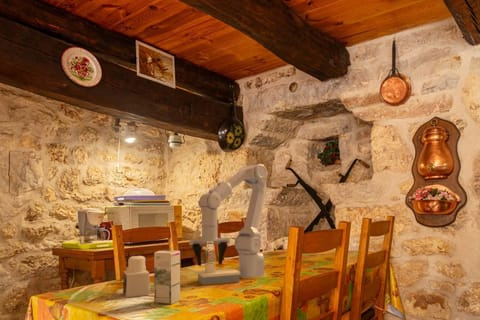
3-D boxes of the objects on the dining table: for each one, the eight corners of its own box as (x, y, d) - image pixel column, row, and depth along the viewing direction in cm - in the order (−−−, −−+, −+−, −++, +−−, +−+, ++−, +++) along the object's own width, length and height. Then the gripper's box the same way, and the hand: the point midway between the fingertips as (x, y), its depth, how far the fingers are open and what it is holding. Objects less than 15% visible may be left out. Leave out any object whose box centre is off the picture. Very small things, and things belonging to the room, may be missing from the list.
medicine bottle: (122, 293, 123) (123, 255, 125) (145, 291, 126) (145, 253, 127) (125, 298, 117) (126, 257, 118) (149, 295, 120) (149, 256, 121)
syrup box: (181, 300, 113) (180, 249, 114) (171, 305, 107) (171, 252, 109) (163, 299, 114) (164, 249, 116) (153, 303, 109) (153, 251, 111)
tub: (231, 279, 143) (231, 270, 144) (239, 283, 135) (239, 274, 135) (197, 282, 139) (197, 273, 140) (203, 286, 131) (203, 277, 131)
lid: (232, 270, 144) (232, 260, 145) (240, 274, 135) (240, 263, 136) (196, 273, 140) (196, 262, 140) (202, 277, 131) (202, 266, 131)
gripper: (225, 225, 145) (226, 262, 143) (187, 226, 140) (187, 264, 138) (231, 226, 138) (231, 264, 136) (191, 227, 133) (191, 267, 132)
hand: (209, 264), depth 137 cm, fingers open, 7 cm apart
